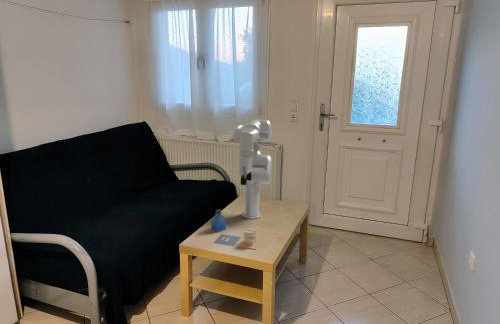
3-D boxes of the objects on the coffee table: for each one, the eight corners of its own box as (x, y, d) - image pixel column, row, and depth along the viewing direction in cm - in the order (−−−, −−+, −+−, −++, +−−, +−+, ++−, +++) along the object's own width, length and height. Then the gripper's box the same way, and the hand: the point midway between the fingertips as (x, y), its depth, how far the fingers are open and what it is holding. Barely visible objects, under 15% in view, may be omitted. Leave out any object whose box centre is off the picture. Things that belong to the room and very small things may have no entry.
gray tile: (221, 234, 206) (221, 234, 206) (241, 237, 203) (241, 237, 203) (213, 243, 195) (213, 242, 195) (233, 246, 192) (233, 246, 192)
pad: (244, 237, 202) (244, 236, 202) (261, 240, 200) (261, 239, 199) (237, 247, 191) (237, 246, 191) (255, 249, 188) (255, 248, 188)
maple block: (246, 240, 198) (247, 228, 197) (255, 241, 197) (255, 229, 195) (244, 243, 194) (244, 231, 192) (252, 245, 192) (253, 233, 191)
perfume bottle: (211, 229, 213) (211, 210, 210) (219, 226, 217) (219, 207, 215) (217, 232, 209) (217, 213, 206) (226, 229, 213) (226, 210, 210)
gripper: (244, 149, 209) (244, 178, 213) (235, 155, 193) (234, 186, 196) (257, 150, 207) (256, 179, 211) (248, 156, 190) (247, 187, 194)
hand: (246, 182), depth 204 cm, fingers open, 9 cm apart
